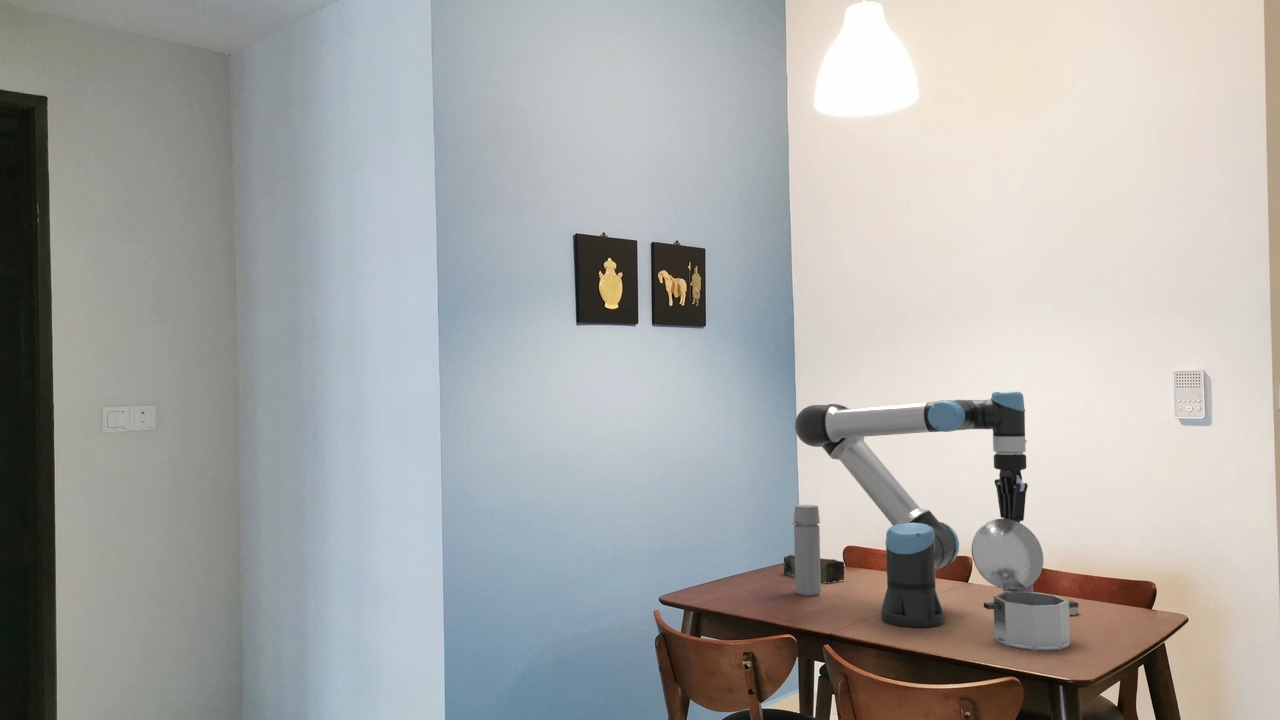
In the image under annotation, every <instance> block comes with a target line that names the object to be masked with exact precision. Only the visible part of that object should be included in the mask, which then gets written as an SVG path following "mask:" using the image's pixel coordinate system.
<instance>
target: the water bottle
mask: <svg viewBox="0 0 1280 720" xmlns="http://www.w3.org/2000/svg"><path fill="white" fill-rule="evenodd" d="M820 523H821V520H820V513H819V506H818V505H816V504H797V505H794V517H793V522H792V523H791V525H794V526H793V532H794V535H793V536H794V556H795V577H794V579H795V581H794V583H795V584H794V585H795V586H794V589H795V590H794V591H795V593H796V594H797V595H800V596H802V595H803V597H814V596H815V595H816V596H818V595H820V594H821V592H822V589H821V588H822V586H821V584H822V582H821V575H820V558H821V546H820V545H821V544H820V543H821V541H820V540H821V536H820V535H821V534H820V525H819V524H820Z"/></svg>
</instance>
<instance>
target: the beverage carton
mask: <svg viewBox="0 0 1280 720" xmlns="http://www.w3.org/2000/svg"><path fill="white" fill-rule="evenodd" d="M784 574H790V575H794V576H795V554H789V555H787V556H783V575H784ZM820 575H821V583H822V582H826V583H825V584H827V583H828V582H833V581H839V580H844V581H845V562H844V561H841V560H836V559H830V558H821V557H820ZM828 584H829V583H828Z"/></svg>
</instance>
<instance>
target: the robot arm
mask: <svg viewBox="0 0 1280 720" xmlns="http://www.w3.org/2000/svg"><path fill="white" fill-rule="evenodd" d="M1024 399H1025V398H1024V395H1023V393H1022V392H1020V391H994V392H992V394H991V397H990V398H989V399H954V400H951V399H944V400H943V399H942V400H937V401H929V402H928V401H926V402H915V403H914V402H913V403H904V404H891V405H881V406H868V407H856V408H849V407H847V406H846V405H842V404H838V403H829V404H813V405H809V406H806V407H805V408H803V409H802V410H800V412H799V413H798V415H797V416H796V419H795V421H794V429H795V433H796V436H797V437H798V439H799V440H800V441H801V442H802V443H804V444H805V445H806V446H810V447H814V448H815V447H816V448H818V447H819V448H820V447H821V448H822V449H823V450H824V451H825V453H827V455H828V456H829V458H831V459H832V460H837V461H840V463H842V465H843V466H844V467H845V468H846V470H847V471H848V472H849V473H850V475H851V476H852V478H853V479H855V481H856V482H857V483H858V484H859V486H860V487H861V488H862V489H863V491H864V492H865V493H866V494H867V496H868V497H869V498H870V499H871V500H872V502H873V503H874V505H875V506H876V507H877V508H878V509H879V510H880V511H881V513H882V514H883V515H884V516H885V518H886V519H887V520H888V521H889V523H890V524H891V525H892V526H890V527H888V529H887V531H886V535H885V536H886V537H885V552H886V555H885V557H886V583H887V586H886V587H887V588H886V591H885V595H884V598H883V600H882V605H881V609H880V619H881V621H882V622H885V623H887V624H891V625H894V626H901V627H908V628H909V627H910V628H911V627H912V628H913V627H914V628H927V627H928V628H929V627H936V626H940V625H942V624H944V622H945V616H944V615H945V614H944V609H943V607H942V604H941V602H940V599H939V596H938V593H937V588H936V587H937V586H936V571H937V570H941V569H944V568H946V567H948V566H949V565H950V564H951V563H953V562H954V561H955V560H956V558H957V556H958V554H959V550H960V549H959V548H960V541H959V537H958V535H957V533H956V532H955V530H954V529H953V528H952V527H951V526H950V525H948V524H946V523H944V522H942V521H939V519H938V518H937V517H935V515H934V514H933V512H932V511H930V509H923V508H921V507H919V504H917V503H916V501H915V500H914V499H913V498H912V497H911V496H910V494H908V492H907V491H906V489H904V487H903V485H901V483H900V482H899V481H898V480H897V479H896V478H895V476H894V475H893V474H892V473H891V472H890V471H889V469H888V468H887V467H886V465H884V463H883V462H882V461H881V459H880V458H879V457H878V456H877V455H876V454H875V452H874V451H873V449H871V447H870V446H869V445H868V444H867V443H866V442H865V437H877V436H880V437H881V436H892V435H893V436H894V435H907V434H908V435H909V434H923V433H924V434H925V433H941V432H944V433H948V432H949V433H950V432H955V431H963V430H964V431H965V430H966V431H967V430H992V448H993V449H992V450H993V452H994V455H993V468H994V469H996V470H999V478H997V479H994V485H995V487H996V494H997V501H998V509H999V515H1000V519H1010V520H1014V521H1017V522H1019V523H1021V522H1024V519H1025V508H1026V498H1027V497H1026V496H1027V490H1028V487H1029V484H1028V483H1027V482H1023V476H1022V472H1021V471H1022V470H1023V471H1024V470H1026V469H1027V456H1026V453H1025V452H1027V451H1026V449H1027V448H1026V445H1027V440H1026V418H1025V417H1026V415H1025V414H1026V409H1025V401H1024Z"/></svg>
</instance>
